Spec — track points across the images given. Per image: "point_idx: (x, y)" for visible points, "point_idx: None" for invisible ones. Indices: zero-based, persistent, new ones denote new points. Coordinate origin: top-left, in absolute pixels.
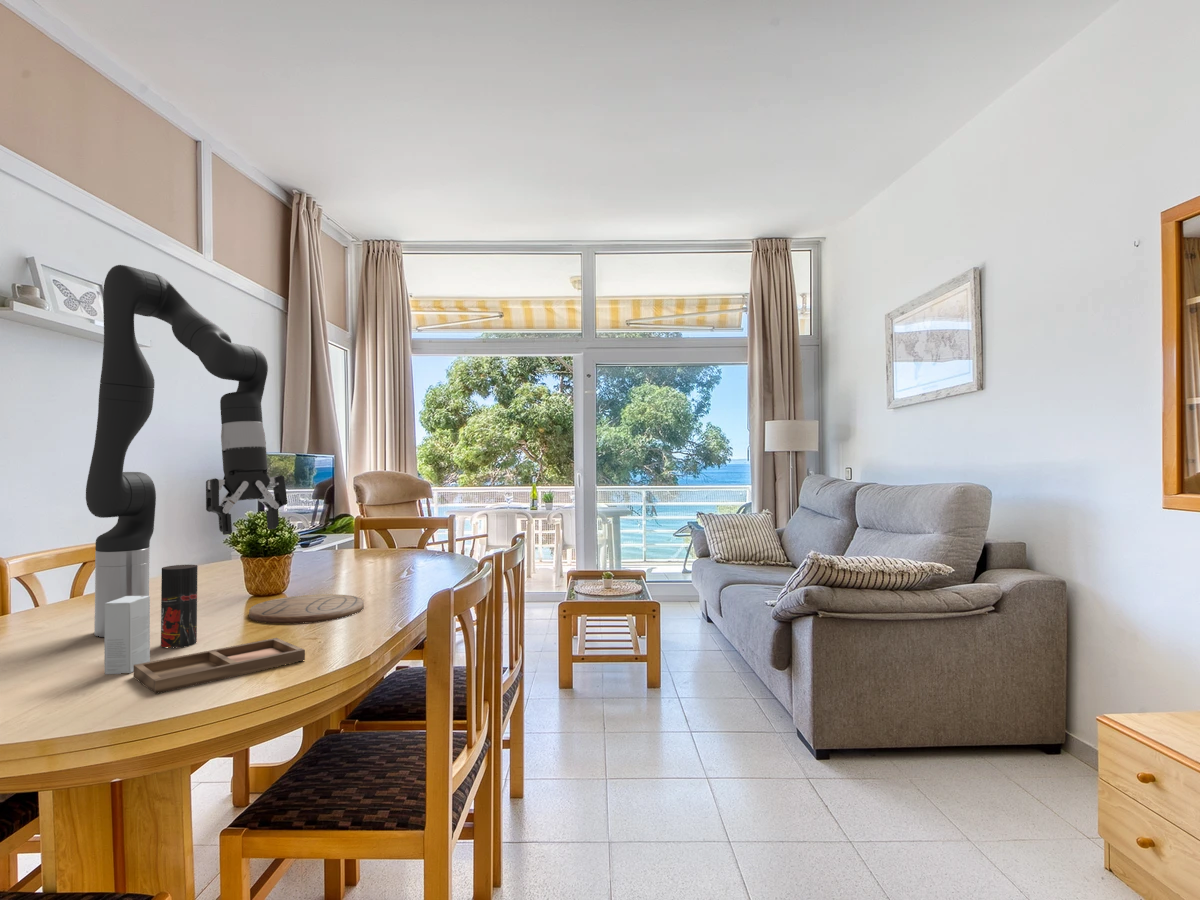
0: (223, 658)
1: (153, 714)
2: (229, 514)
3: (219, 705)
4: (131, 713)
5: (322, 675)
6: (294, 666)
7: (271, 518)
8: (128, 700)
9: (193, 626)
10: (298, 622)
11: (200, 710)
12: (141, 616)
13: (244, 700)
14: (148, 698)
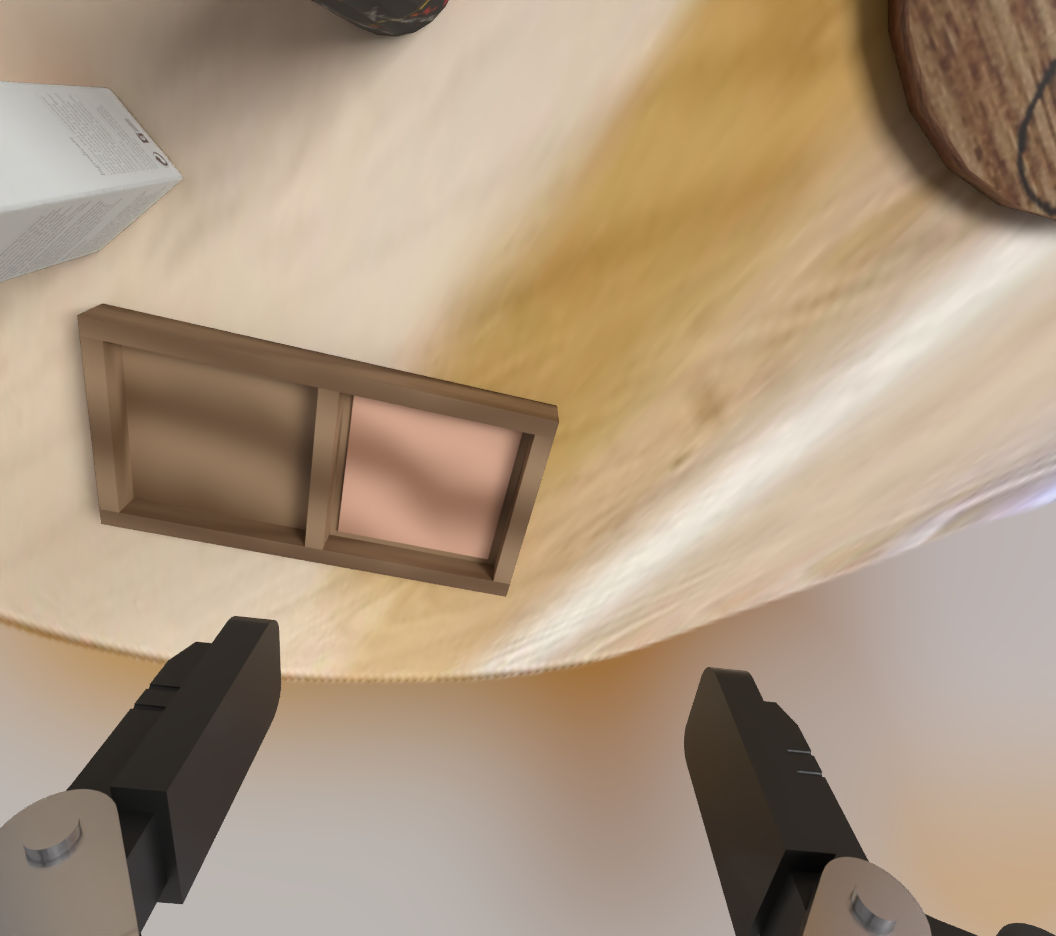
0: (314, 491)
1: (89, 611)
2: (169, 894)
3: None
4: (51, 574)
5: (452, 678)
6: None
7: (718, 821)
8: (58, 492)
9: (407, 15)
10: (919, 119)
11: None
12: (4, 247)
13: None
14: None
